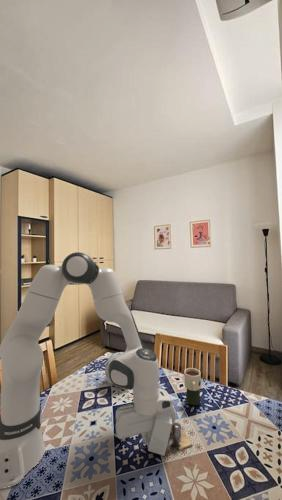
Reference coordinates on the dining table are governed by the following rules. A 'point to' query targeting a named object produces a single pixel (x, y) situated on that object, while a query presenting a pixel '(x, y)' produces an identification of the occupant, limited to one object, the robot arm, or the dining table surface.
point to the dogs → (179, 437)
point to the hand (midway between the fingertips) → (145, 442)
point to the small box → (160, 434)
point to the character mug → (192, 385)
